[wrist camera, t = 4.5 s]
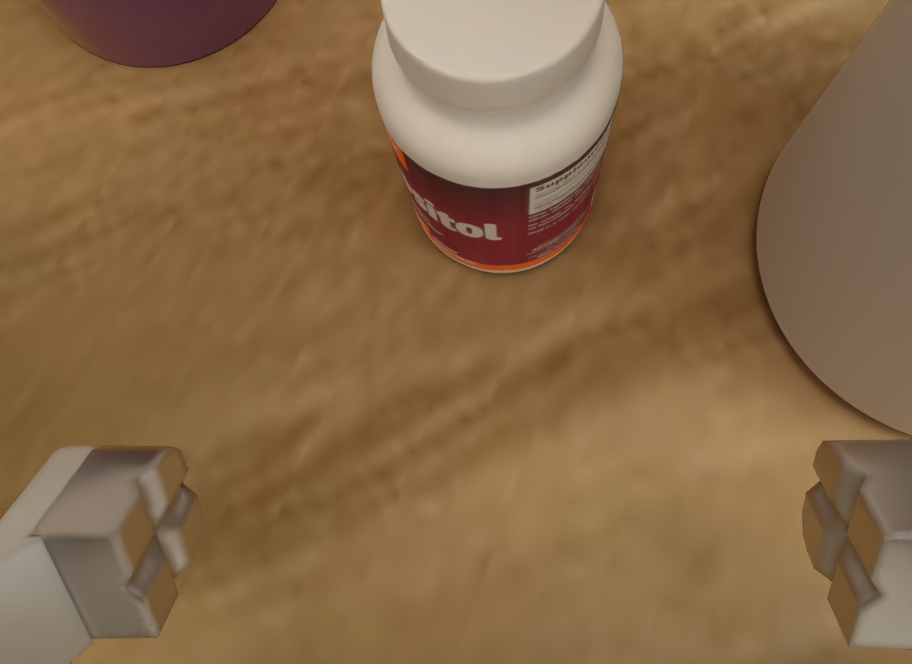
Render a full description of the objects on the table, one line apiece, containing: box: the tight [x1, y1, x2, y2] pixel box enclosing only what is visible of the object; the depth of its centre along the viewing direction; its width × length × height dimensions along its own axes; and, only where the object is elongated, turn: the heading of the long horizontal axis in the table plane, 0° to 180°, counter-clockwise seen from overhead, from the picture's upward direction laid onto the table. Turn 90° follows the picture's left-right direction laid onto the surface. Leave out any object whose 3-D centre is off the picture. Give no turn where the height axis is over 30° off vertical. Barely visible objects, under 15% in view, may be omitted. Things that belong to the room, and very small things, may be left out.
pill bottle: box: [372, 0, 623, 273], centre depth 21 cm, size 6×6×11 cm
